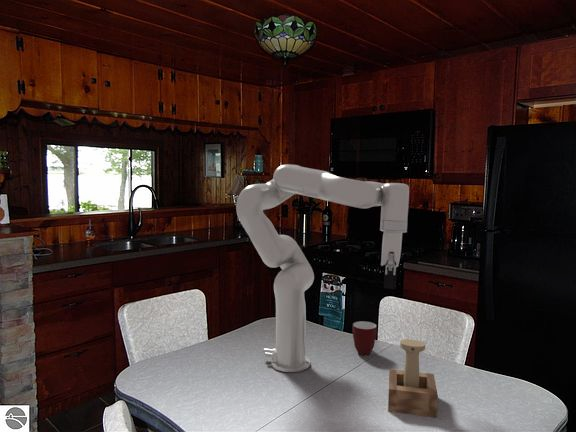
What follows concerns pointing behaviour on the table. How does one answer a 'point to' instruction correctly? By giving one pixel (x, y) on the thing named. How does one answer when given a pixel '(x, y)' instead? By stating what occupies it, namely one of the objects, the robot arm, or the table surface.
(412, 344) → the handle
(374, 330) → the mug
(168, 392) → the table surface
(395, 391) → the block
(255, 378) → the table surface
